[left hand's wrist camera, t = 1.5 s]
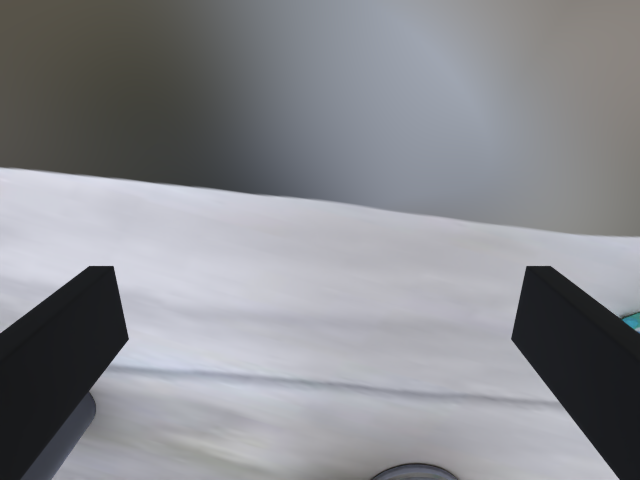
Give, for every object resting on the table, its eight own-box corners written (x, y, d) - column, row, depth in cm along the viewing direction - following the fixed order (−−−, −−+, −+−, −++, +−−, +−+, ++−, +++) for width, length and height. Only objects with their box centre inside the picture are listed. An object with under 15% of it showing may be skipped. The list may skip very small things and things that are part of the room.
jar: (103, 388, 49) (6, 521, 34) (87, 439, 52) (-7, 580, 37) (28, 364, 48) (-107, 490, 33) (16, 417, 51) (-112, 555, 36)
